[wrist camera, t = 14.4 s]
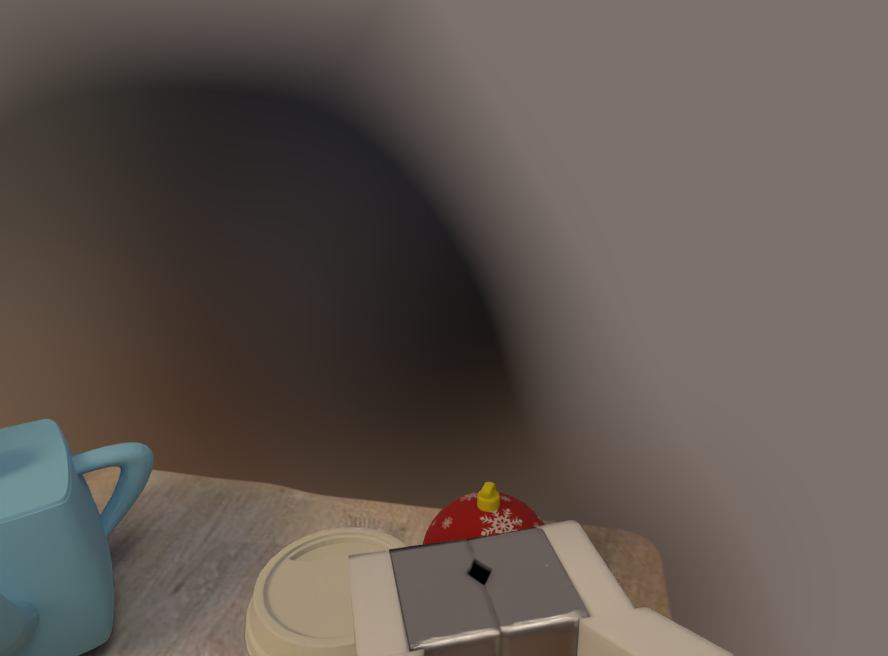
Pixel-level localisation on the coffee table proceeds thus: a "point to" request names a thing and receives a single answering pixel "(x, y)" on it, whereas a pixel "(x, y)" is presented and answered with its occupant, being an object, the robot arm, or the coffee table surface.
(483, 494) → the christmas ornament
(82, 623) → the teapot
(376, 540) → the coffee cup
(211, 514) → the coffee table surface
